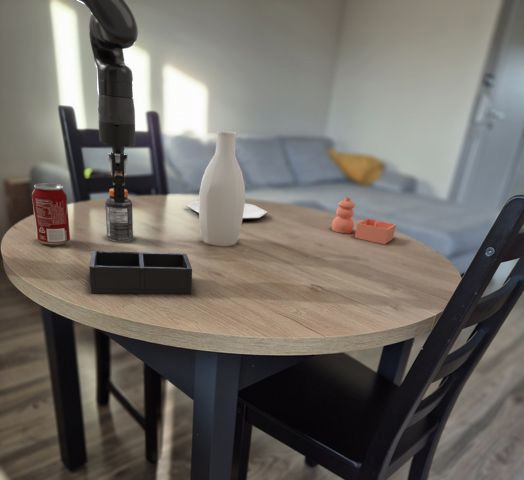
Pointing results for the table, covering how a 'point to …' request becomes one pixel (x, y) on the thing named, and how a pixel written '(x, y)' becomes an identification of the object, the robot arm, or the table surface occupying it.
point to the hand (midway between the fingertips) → (119, 198)
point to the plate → (248, 212)
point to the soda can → (51, 214)
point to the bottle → (222, 194)
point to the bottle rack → (140, 273)
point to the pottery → (361, 225)
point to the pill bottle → (119, 218)
